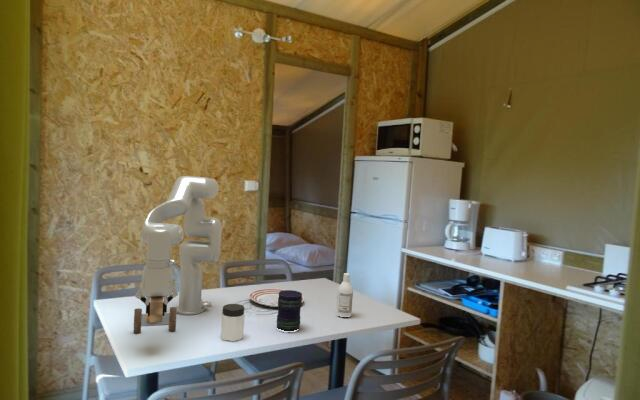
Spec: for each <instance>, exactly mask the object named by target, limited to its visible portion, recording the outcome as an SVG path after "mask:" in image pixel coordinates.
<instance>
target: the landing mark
mask: <svg viewBox="0 0 640 400" xmlns="http://www.w3.org/2000/svg"><path fill="white" fill-rule="evenodd" d="M169 313H170V312H167V313H165V314H164V316H162V322H154V323H150V322H149V321H148V320H147V318H146V313H142V318H141V327H149V326H153V327H154V326H169Z"/></svg>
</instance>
